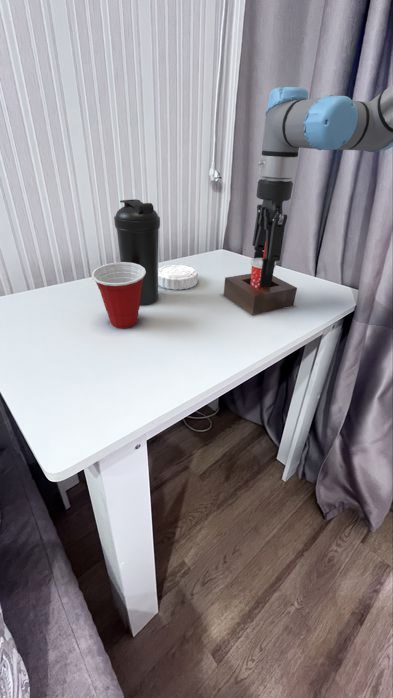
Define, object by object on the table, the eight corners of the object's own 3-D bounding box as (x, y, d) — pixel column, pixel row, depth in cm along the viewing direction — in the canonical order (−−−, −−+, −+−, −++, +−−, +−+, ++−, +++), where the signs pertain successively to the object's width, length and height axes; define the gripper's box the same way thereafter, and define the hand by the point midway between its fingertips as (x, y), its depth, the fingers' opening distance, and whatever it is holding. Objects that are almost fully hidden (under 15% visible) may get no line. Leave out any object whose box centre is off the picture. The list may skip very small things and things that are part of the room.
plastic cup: (88, 328, 71) (79, 274, 64) (115, 308, 79) (110, 259, 73) (133, 339, 68) (129, 283, 61) (156, 317, 76) (154, 266, 70)
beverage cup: (256, 302, 82) (264, 245, 75) (241, 293, 87) (248, 238, 79) (275, 298, 85) (285, 242, 77) (260, 289, 89) (268, 236, 82)
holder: (262, 288, 94) (264, 271, 91) (293, 306, 84) (297, 287, 82) (223, 295, 89) (225, 277, 86) (252, 315, 79) (255, 296, 76)
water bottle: (146, 287, 91) (142, 196, 79) (169, 299, 85) (169, 203, 72) (113, 296, 85) (103, 199, 73) (136, 310, 79) (129, 207, 66)
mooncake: (188, 293, 89) (188, 280, 87) (148, 285, 92) (147, 273, 90) (203, 278, 98) (203, 267, 97) (166, 272, 102) (166, 260, 100)
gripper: (247, 174, 79) (237, 269, 91) (274, 183, 63) (257, 296, 75) (277, 175, 80) (263, 268, 92) (311, 184, 64) (289, 296, 76)
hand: (260, 281), depth 84 cm, fingers closed on beverage cup, 6 cm apart
